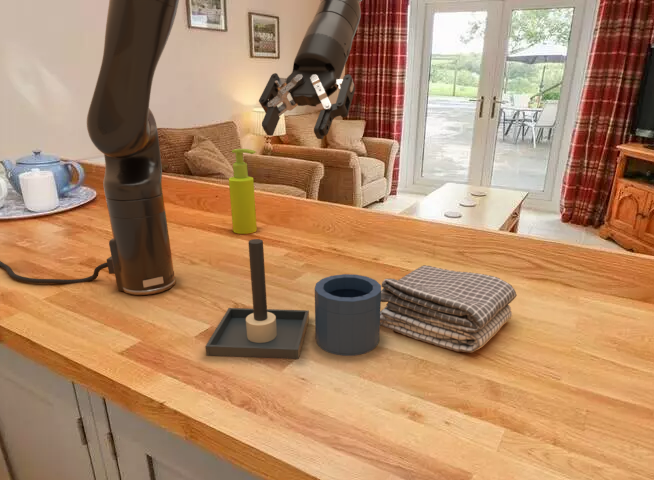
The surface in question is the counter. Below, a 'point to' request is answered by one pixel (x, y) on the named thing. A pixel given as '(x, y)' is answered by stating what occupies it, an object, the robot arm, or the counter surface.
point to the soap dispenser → (242, 196)
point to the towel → (447, 307)
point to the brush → (259, 298)
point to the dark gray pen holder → (347, 314)
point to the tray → (236, 344)
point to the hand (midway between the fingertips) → (292, 133)
